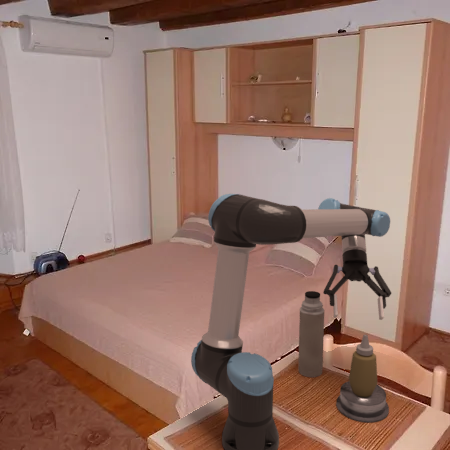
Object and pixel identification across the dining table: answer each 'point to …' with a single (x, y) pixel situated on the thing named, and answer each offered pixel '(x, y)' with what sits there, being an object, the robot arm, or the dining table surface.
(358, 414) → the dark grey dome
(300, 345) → the thermos bottle
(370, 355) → the squeeze bottle
